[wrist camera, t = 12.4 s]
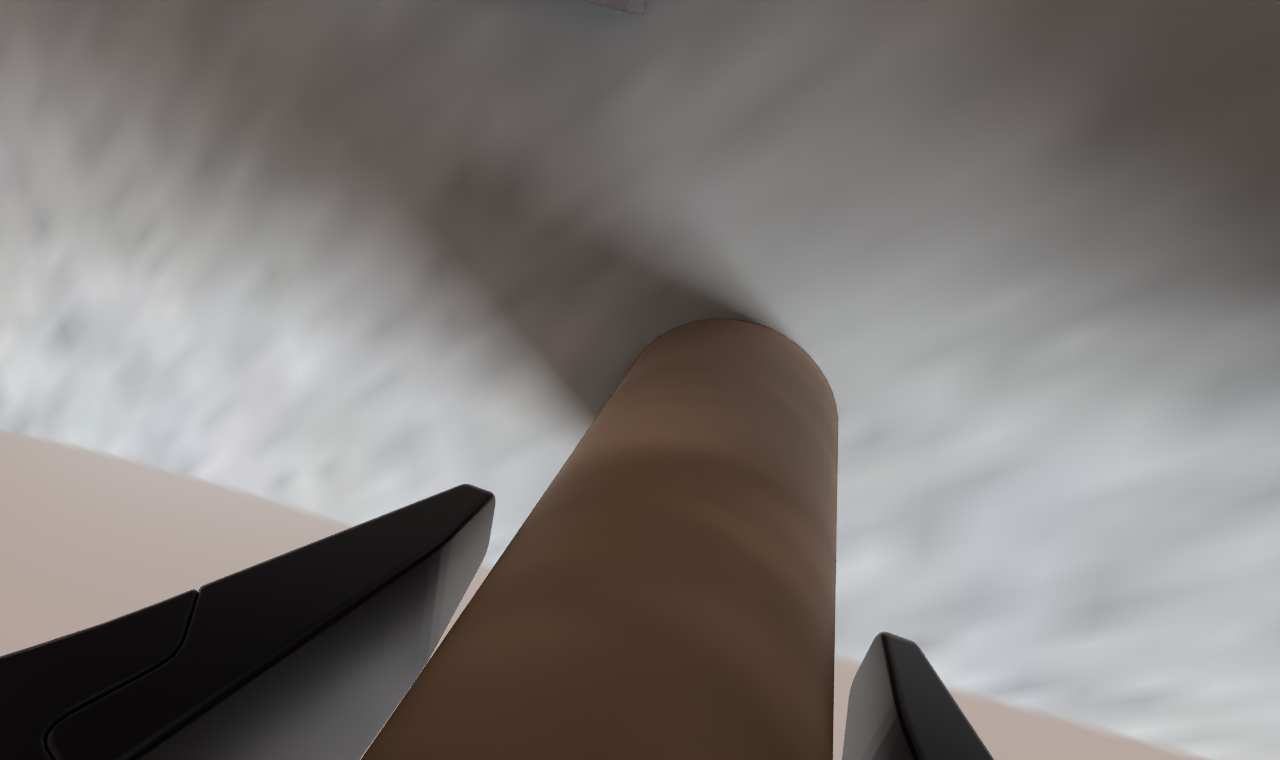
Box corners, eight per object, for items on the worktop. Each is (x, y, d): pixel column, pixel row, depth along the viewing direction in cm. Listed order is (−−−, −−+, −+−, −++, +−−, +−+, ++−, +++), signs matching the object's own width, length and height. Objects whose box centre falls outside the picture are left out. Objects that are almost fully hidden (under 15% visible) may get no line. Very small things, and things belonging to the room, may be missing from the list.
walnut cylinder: (872, 359, 12) (926, 934, 4) (796, 542, 14) (733, 1188, 6) (647, 290, 13) (313, 683, 5) (601, 474, 14) (305, 987, 6)
